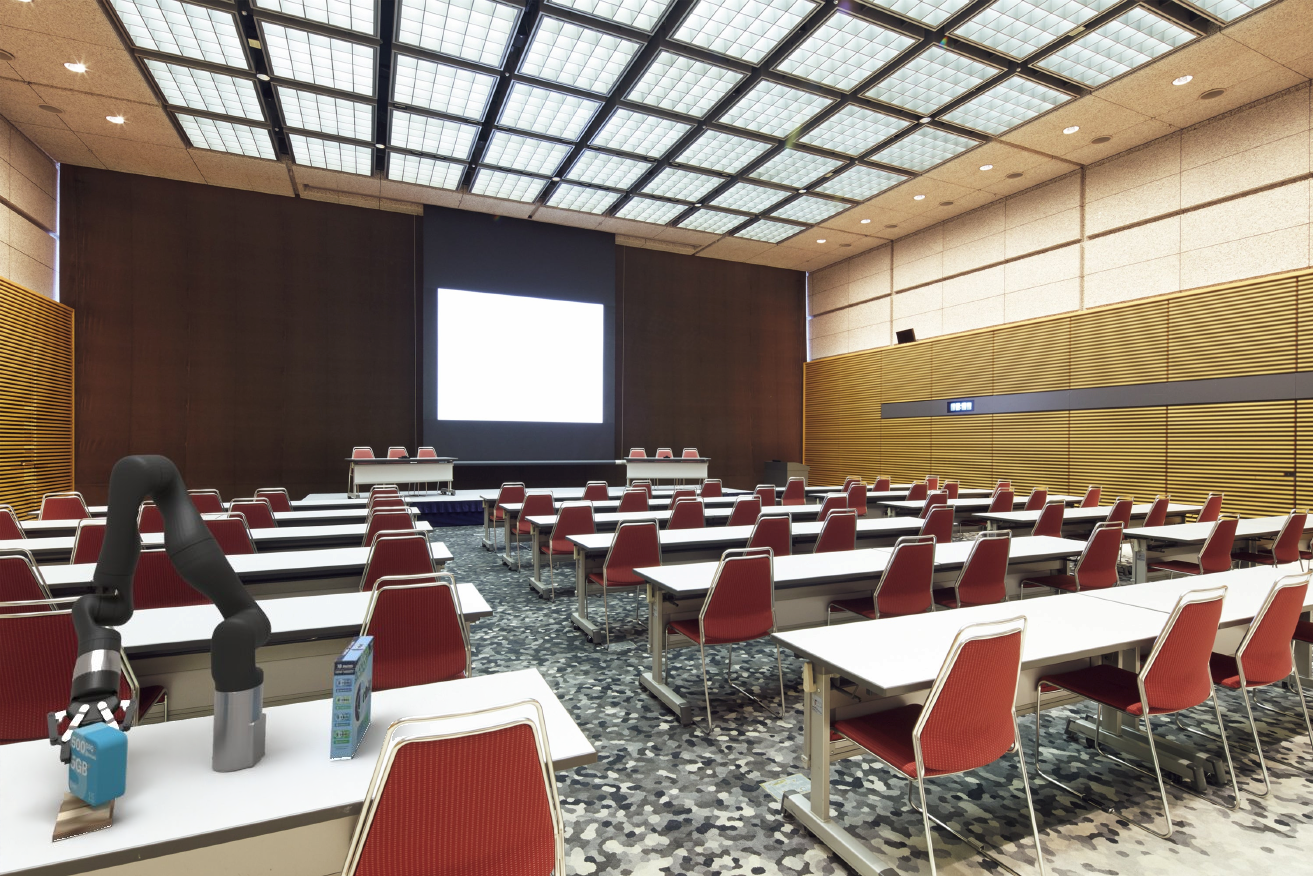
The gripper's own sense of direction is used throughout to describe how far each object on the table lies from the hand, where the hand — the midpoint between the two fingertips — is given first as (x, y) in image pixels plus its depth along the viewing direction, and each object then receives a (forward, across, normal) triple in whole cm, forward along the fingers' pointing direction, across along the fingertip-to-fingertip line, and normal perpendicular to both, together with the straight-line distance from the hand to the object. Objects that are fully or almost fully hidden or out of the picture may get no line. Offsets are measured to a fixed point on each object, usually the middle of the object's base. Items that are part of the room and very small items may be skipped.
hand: (89, 757), depth 122 cm
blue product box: (+6, +48, +9) cm, 49 cm away
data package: (+7, +2, +2) cm, 7 cm away
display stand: (+9, 0, +6) cm, 11 cm away
